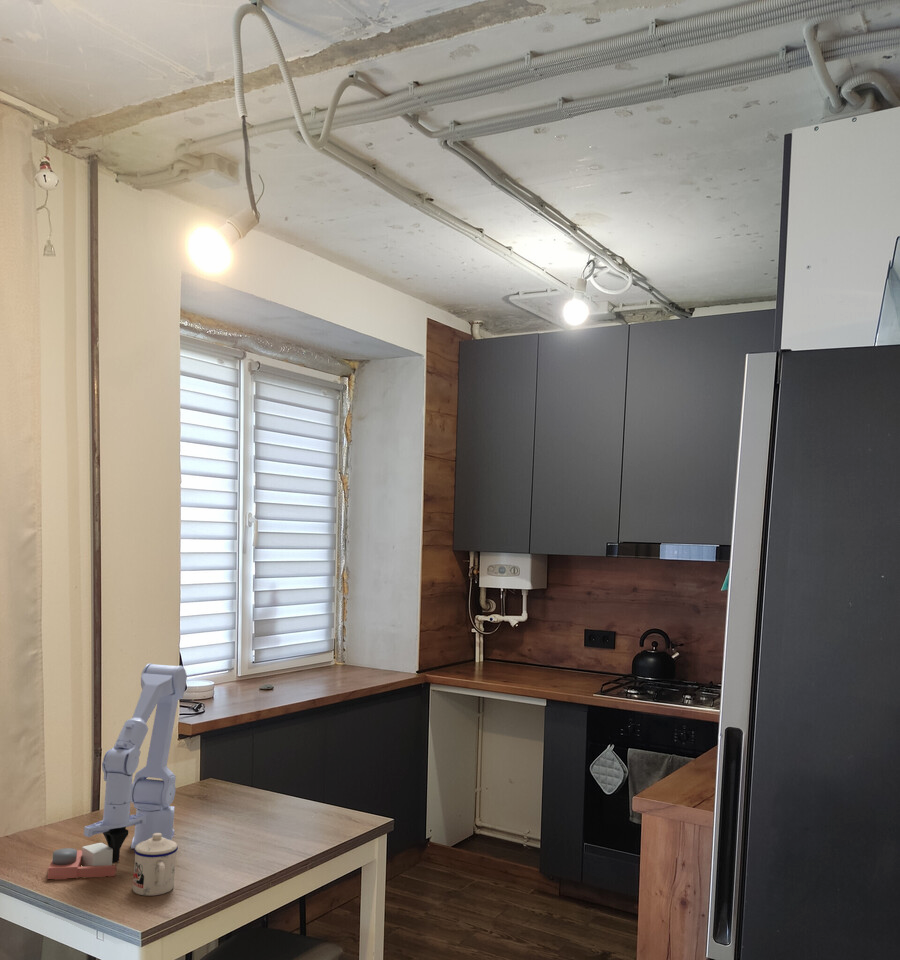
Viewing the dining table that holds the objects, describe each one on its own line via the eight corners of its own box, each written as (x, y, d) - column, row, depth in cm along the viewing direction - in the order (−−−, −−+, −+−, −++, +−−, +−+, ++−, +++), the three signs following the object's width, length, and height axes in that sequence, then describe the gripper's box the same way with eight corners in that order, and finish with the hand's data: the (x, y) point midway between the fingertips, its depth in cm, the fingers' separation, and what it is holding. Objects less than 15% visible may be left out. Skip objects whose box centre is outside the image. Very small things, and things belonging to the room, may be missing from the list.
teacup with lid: (127, 884, 191) (131, 829, 192) (169, 878, 196) (173, 825, 197) (137, 904, 181) (142, 847, 182) (182, 898, 185) (186, 842, 186)
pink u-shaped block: (119, 859, 206) (121, 839, 206) (114, 876, 195) (116, 856, 195) (55, 862, 202) (57, 842, 202) (47, 879, 191) (49, 858, 192)
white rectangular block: (100, 862, 203) (101, 842, 203) (111, 869, 199) (112, 848, 199) (81, 866, 200) (82, 846, 200) (92, 874, 196) (93, 853, 196)
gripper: (136, 791, 209) (131, 849, 208) (79, 803, 198) (74, 865, 197) (152, 798, 205) (148, 857, 204) (95, 810, 194) (90, 873, 193)
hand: (113, 861), depth 200 cm, fingers closed, pressing on white rectangular block
